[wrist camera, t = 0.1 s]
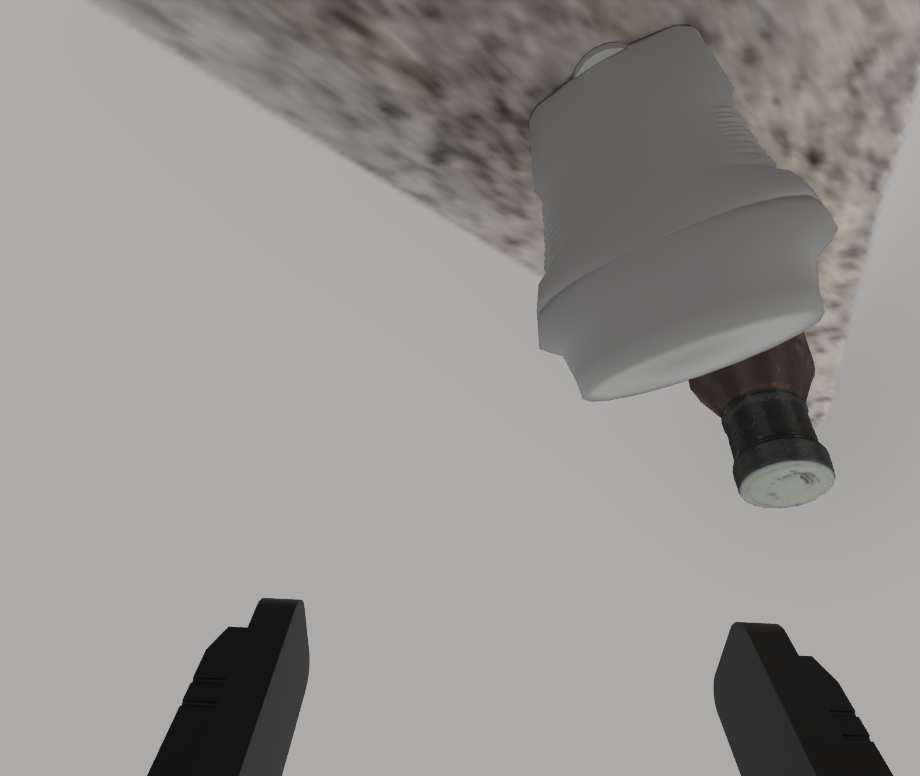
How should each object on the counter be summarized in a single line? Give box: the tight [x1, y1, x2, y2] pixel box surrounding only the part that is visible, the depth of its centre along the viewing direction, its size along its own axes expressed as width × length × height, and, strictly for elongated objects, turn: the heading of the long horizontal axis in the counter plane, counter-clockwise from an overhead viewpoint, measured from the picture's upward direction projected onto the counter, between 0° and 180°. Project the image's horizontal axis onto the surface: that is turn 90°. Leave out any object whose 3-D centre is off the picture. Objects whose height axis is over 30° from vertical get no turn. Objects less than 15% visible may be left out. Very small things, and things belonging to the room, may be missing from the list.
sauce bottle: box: [689, 332, 835, 508], centre depth 34 cm, size 7×6×20 cm
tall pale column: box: [529, 25, 838, 401], centre depth 27 cm, size 11×4×22 cm, turn 122°
